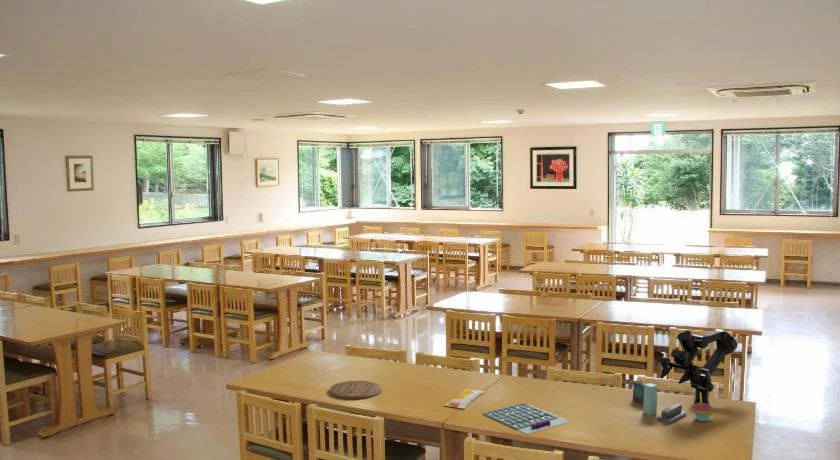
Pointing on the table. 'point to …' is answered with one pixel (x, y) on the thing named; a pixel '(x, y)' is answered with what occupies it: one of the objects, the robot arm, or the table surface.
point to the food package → (464, 398)
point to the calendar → (526, 418)
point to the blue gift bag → (638, 391)
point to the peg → (650, 399)
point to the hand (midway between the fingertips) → (670, 380)
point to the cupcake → (702, 410)
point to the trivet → (355, 390)
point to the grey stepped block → (671, 414)
